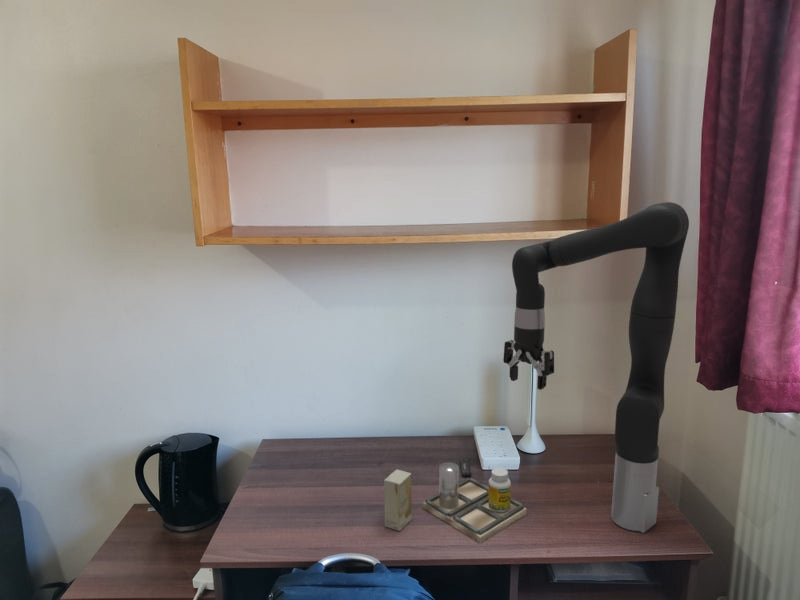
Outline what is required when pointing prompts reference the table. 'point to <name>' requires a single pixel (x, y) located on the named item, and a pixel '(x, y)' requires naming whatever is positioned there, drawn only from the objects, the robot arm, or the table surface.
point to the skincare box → (398, 499)
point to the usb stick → (465, 468)
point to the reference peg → (449, 485)
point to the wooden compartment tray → (475, 511)
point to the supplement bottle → (499, 490)
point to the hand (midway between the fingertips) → (527, 384)
